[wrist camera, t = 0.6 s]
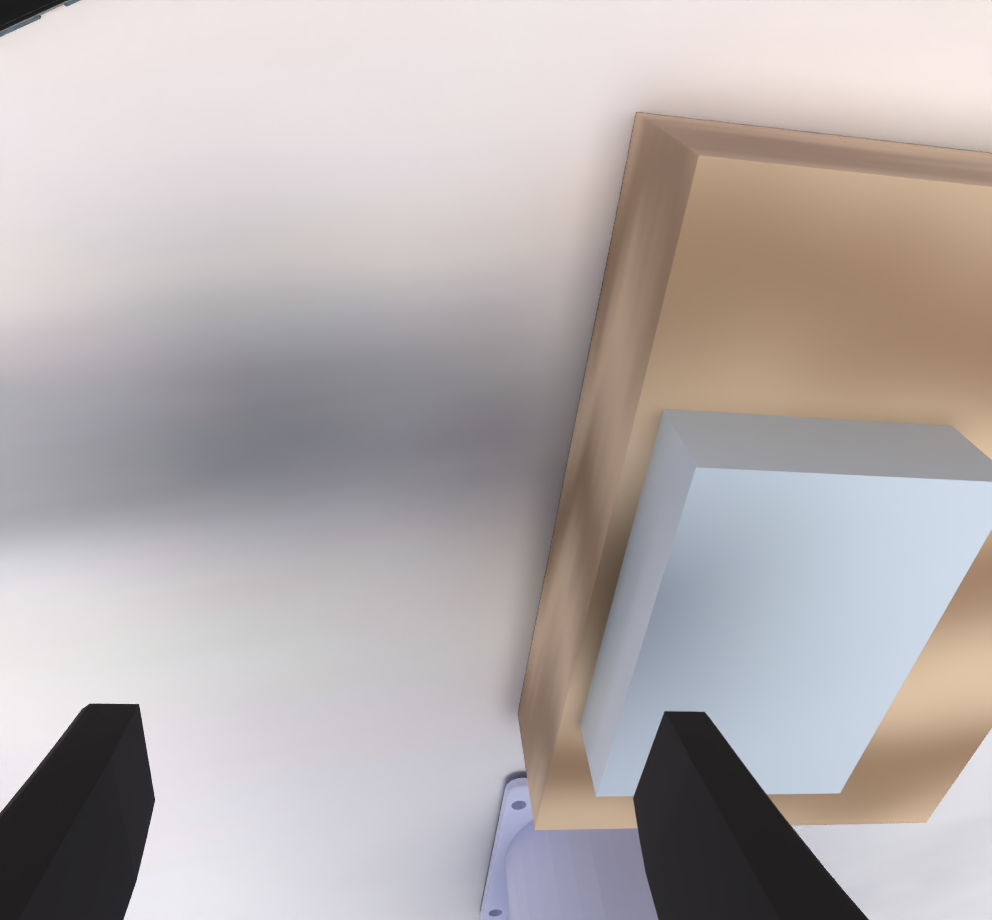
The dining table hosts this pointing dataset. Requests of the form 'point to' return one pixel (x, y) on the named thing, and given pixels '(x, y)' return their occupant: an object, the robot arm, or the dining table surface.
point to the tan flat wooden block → (774, 405)
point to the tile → (781, 588)
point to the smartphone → (25, 12)
